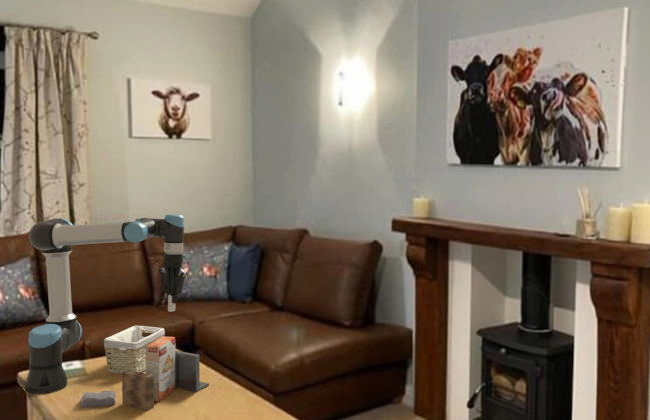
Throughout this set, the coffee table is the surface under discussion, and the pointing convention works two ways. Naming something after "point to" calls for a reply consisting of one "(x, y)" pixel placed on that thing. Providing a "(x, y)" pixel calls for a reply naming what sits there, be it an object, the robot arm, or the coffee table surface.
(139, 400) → the end block
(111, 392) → the stone block
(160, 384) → the cracker box
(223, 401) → the coffee table surface
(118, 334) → the storage basket
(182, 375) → the bookend
